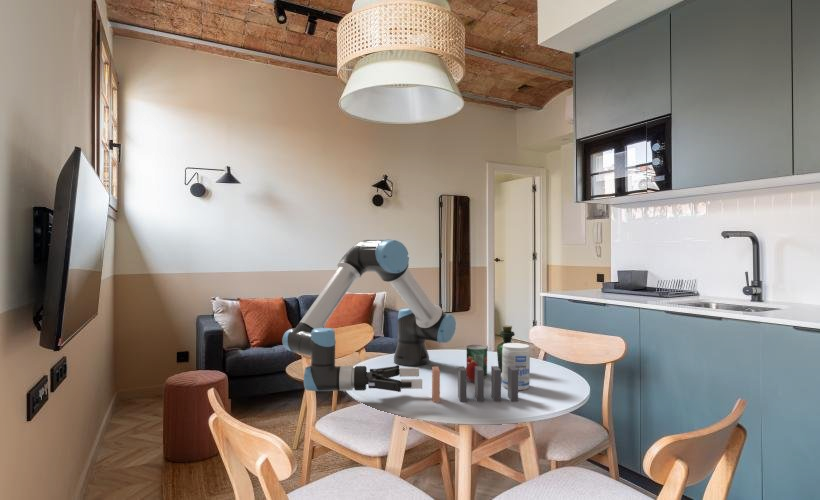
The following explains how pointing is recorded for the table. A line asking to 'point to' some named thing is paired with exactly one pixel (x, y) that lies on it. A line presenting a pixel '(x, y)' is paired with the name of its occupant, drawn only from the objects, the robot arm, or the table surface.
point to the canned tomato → (478, 356)
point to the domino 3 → (496, 383)
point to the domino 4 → (512, 383)
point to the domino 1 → (462, 384)
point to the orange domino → (435, 384)
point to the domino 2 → (479, 384)
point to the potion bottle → (507, 338)
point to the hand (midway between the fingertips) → (420, 377)
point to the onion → (471, 371)
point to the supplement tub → (516, 363)
